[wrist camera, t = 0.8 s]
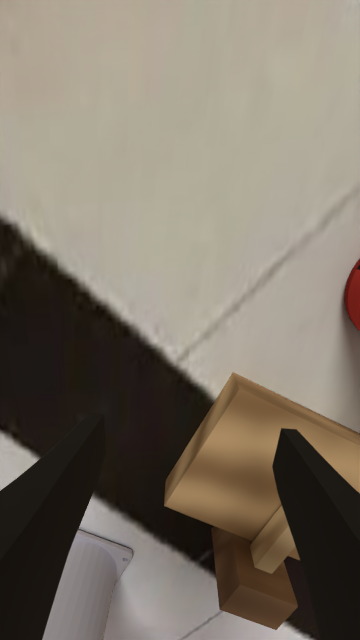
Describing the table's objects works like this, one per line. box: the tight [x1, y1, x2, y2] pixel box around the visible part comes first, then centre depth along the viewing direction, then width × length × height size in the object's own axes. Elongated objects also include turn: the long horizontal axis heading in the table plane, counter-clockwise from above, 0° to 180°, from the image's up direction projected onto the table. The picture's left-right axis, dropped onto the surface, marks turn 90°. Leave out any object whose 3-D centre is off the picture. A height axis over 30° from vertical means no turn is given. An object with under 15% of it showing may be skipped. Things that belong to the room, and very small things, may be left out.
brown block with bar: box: [211, 505, 298, 630], centre depth 23 cm, size 11×5×6 cm, turn 153°
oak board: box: [164, 373, 360, 560], centre depth 24 cm, size 12×30×2 cm, turn 63°
